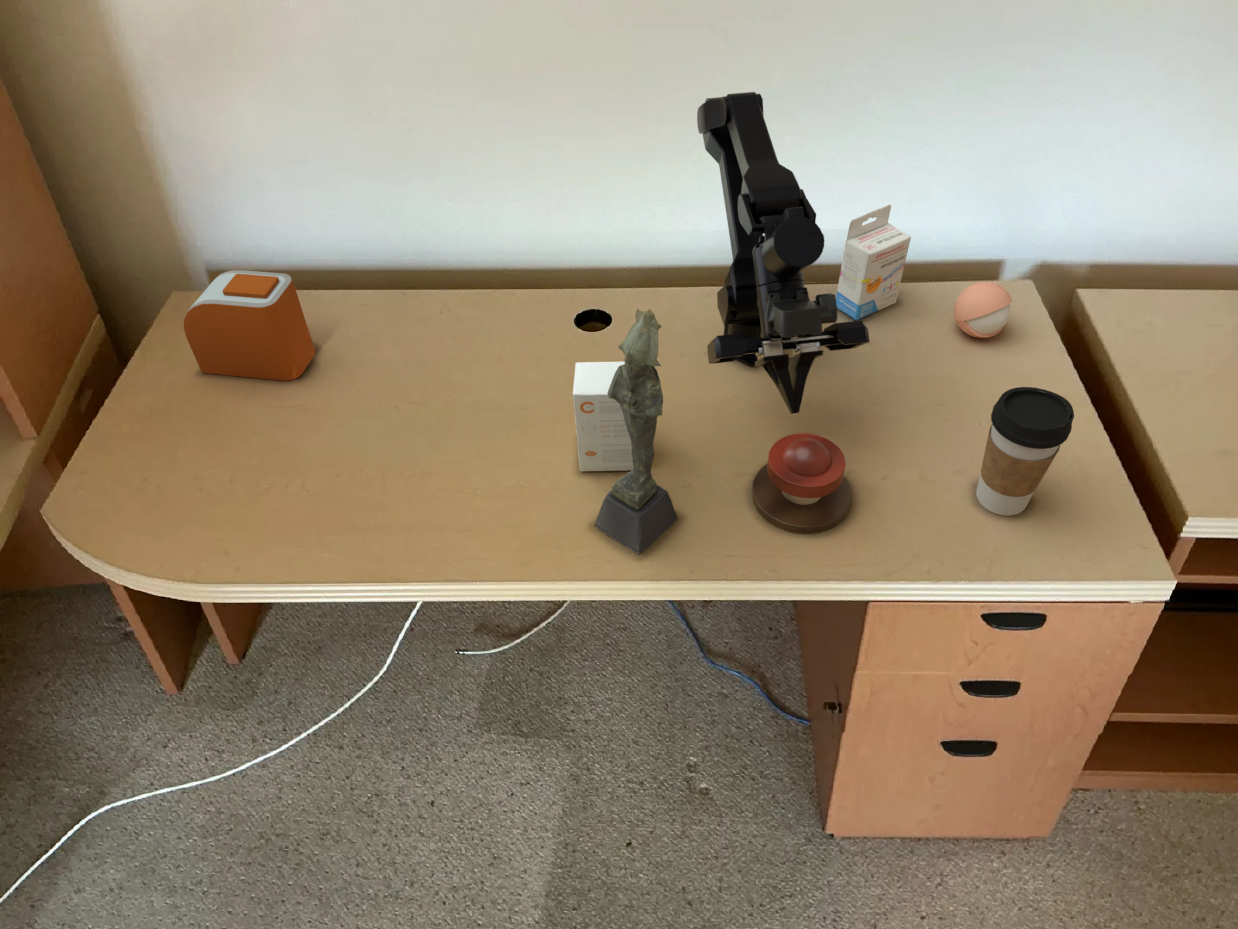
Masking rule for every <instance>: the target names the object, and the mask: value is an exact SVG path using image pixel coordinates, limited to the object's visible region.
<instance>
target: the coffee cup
mask: <svg viewBox="0 0 1238 929" xmlns="http://www.w3.org/2000/svg"><path fill="white" fill-rule="evenodd" d="M1074 418H1075V411H1074V408H1073V406H1072V404H1071V402H1070V401H1069V400H1068V399H1066V398H1065V396H1062V395H1060V394H1058V393H1055V392H1053V391H1051V390H1047V389H1044V388H1038V387H1034V386H1033V387H1032V386H1018V387H1014V388H1010V389H1008V390H1006V391H1005V392H1003V393H1002V394H1001V395H1000V397H999V398H998V400H997V401H996V402H995V404H994V405H993V407H992V411H991V413H990V420H991V425H990V427H989V430H988V434H987V439H986V443H985V450H984V454H983V459H982V464H981V468H980V474H979V478H978V483H977V487H976V491H975V495H976V499H977V501H978V502H979V504H980V505H981V506H982V507H983V508H984V509H985V510H987V511H988V512H991V513H992V514H995V515H999V516H1006V517H1009V516H1015V515H1018V514H1021V513H1022V512H1023V511H1025V509H1026V508H1027V506H1028V504H1029V503H1030V501H1031V499H1032V497H1033V495H1034V494H1035V492H1036V490H1037V489H1038V486H1039V485H1040V483H1041V481H1042V480H1043V478H1044V476H1045V475H1046V473H1047V472H1048V469H1049V468H1050V466H1051V465H1052V463H1053V462H1054V459H1055V458H1056V456H1057V455H1058V453H1059V451H1060V448H1061V445H1062V444H1064V442H1066V441H1067V440H1068V438H1069V436H1070V434H1071V433H1072V429H1073V425H1072V424H1073V421H1074Z"/></svg>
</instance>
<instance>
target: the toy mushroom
mask: <svg viewBox="0 0 1238 929" xmlns="http://www.w3.org/2000/svg"><path fill="white" fill-rule="evenodd" d="M846 462H847V461H846V458H845V455H844V453H843V451H842V450H841V449H840V446H838V445H837V444H836V443H834V442H833V441H832V440H830V439H828V438H826V437H823V436H821V435H818V434H813V433H805V432H804V433H802V432H800V433H799V432H798V433H792V434H788V435H785V436H783V437H781V438H780V439H777V440H776V441H775V442H774V443H773V445H772V446H771V447H770V449H769V452H768V457H767V462H766V463H765V465H763V466H762V467H760V469H759V470H758V471H757V473H755V476H754V477H753V481H752V486H751V499H752V502H753V505H754V507H755V509H756V511H757V512H758V514H759V515H760V516H761V517H762V518H763V519H764V520H765V521H767V522H768V523H770V524H771V525H773V526H775V527H777V528H778V529H781V530H784V531H787V532H791V533H795V534H817V533H821V532H826V531H828V530H831V529H832V528H834V527H836V526H838V525H839V524H840V523H842V521H844V519H845V518H846V517H847V516H848V514H849V512H850V509H851V505H852V500H853V491H852V487H851V484H850V482H849V480H848V479H847V478H846V476H845V470H846V466H847V465H846V464H847V463H846Z"/></svg>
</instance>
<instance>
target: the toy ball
mask: <svg viewBox="0 0 1238 929" xmlns="http://www.w3.org/2000/svg"><path fill="white" fill-rule="evenodd" d="M1012 302H1013V299H1012V297H1011V295H1010V293H1009V291H1007V289H1005V288H1004V287H1003V286H1001V285H1000V284H998V283H995V282H992V281H982V282H981V281H979V282H975V283H974V284H971V285H969V286H967V287H966V288H964V289H963V290H962V291H961V292H960V293H959V295H958V297H957V298H956V300H955V303H954V305H953V306H954V307H953V317H954V321H955V322H956V324H957V326H958V327H959V328H960V330H961V331H962V332H964V333H965V334H966V335H969V336H971V337H974V338H979V339H983V338H990V337H995V336H996V335H997V334H999V333H1000V332H1001V331H1002V330H1003V328H1004V326H1005V325H1006V324H1007V322H1008V320H1009V317H1010V313H1011V303H1012Z"/></svg>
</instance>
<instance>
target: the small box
mask: <svg viewBox="0 0 1238 929" xmlns="http://www.w3.org/2000/svg"><path fill="white" fill-rule="evenodd" d="M624 364H625V361H581V362H580V361H576V362H575V365H574V366H575V367H574V375H573V376H574V377H573V387H572V399H573V407H574V408H573V410H574V420H575V430H576V441H577V442H576V443H577V453H578V455H577V456H578V465H579V470H580V472H620V471H621V472H624V471H627V472H628V471H631V470H632V469H633V459H632V445H631V439H630V436H629V433H628V430H627V427H626V424H625V420H624V416H623V412H622V409H621V407H620V404H619V403H618V402H617V401H616V400H614V399H612V398H609V396H608V394H607V393H608V390H609V387H610V384H611V382H612V379H613V377H614V374H615V372H616V370H617V368H618V367H619V366H621V365H624Z"/></svg>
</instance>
